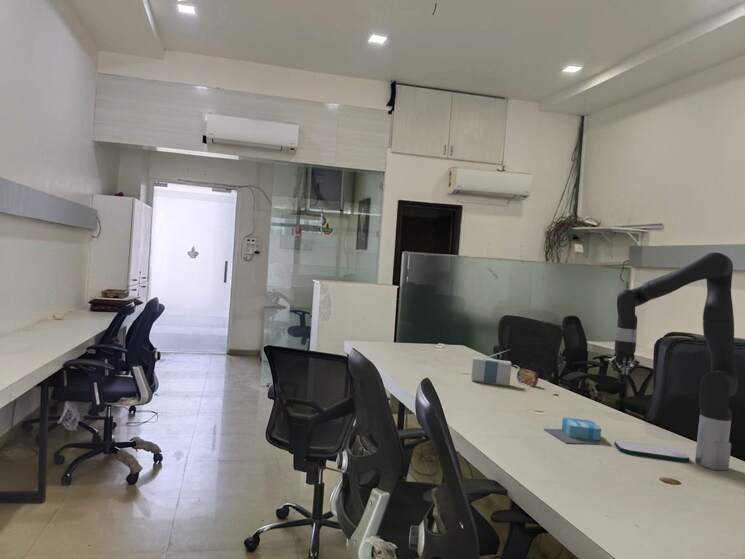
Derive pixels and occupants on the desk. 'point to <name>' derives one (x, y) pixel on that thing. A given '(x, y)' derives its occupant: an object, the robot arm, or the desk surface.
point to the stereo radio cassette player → (491, 371)
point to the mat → (569, 440)
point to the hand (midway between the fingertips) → (621, 383)
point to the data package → (581, 429)
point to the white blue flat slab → (651, 451)
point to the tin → (527, 377)
